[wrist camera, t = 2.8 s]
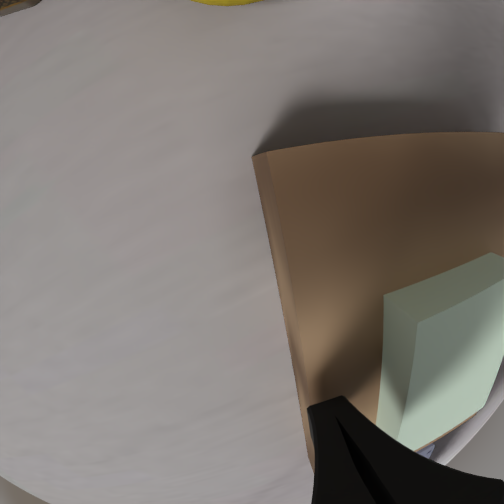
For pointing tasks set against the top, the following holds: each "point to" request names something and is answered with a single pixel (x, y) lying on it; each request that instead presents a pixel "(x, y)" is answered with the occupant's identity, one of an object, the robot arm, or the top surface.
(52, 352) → the top surface
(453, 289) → the tile
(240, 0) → the lemon
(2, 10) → the ceramic cup
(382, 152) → the board
